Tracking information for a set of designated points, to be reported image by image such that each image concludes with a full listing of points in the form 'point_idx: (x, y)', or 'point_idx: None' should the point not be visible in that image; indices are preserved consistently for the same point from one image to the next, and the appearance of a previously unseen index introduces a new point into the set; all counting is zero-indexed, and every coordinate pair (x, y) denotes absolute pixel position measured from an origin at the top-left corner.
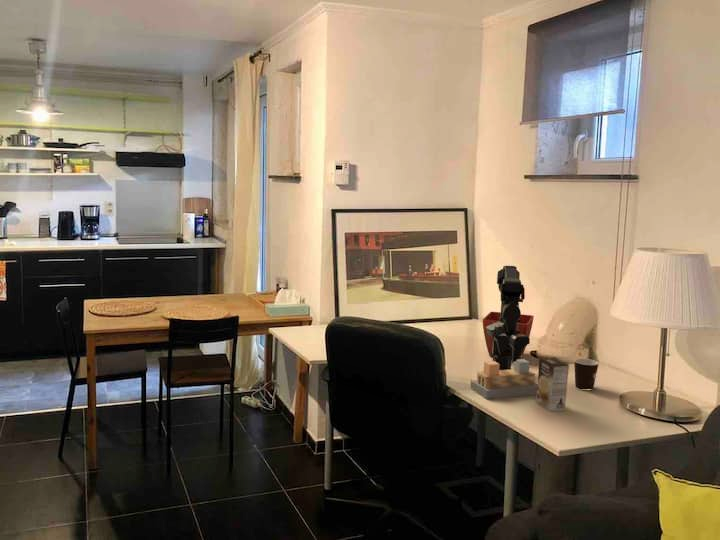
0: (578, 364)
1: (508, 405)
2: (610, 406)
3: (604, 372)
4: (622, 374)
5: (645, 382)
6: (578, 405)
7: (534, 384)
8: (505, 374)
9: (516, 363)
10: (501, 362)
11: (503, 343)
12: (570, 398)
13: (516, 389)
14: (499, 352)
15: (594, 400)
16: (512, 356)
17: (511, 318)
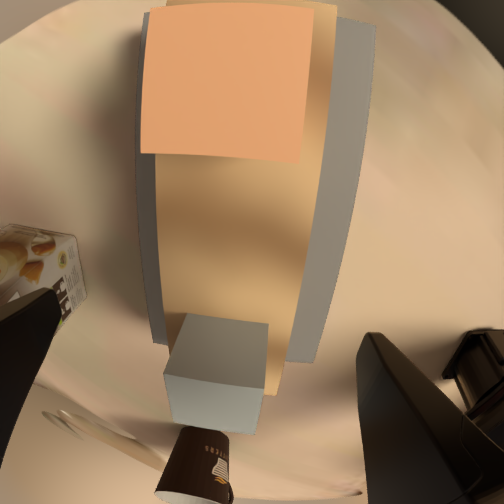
0: (178, 489)
1: (64, 97)
2: (66, 386)
3: (291, 489)
4: (266, 495)
5: None
6: (61, 338)
7: None
8: (184, 202)
9: (222, 365)
10: (481, 366)
11: (387, 496)
12: (116, 364)
13: (140, 211)
14: (379, 347)
15: (103, 393)
16: (6, 311)
17: None
